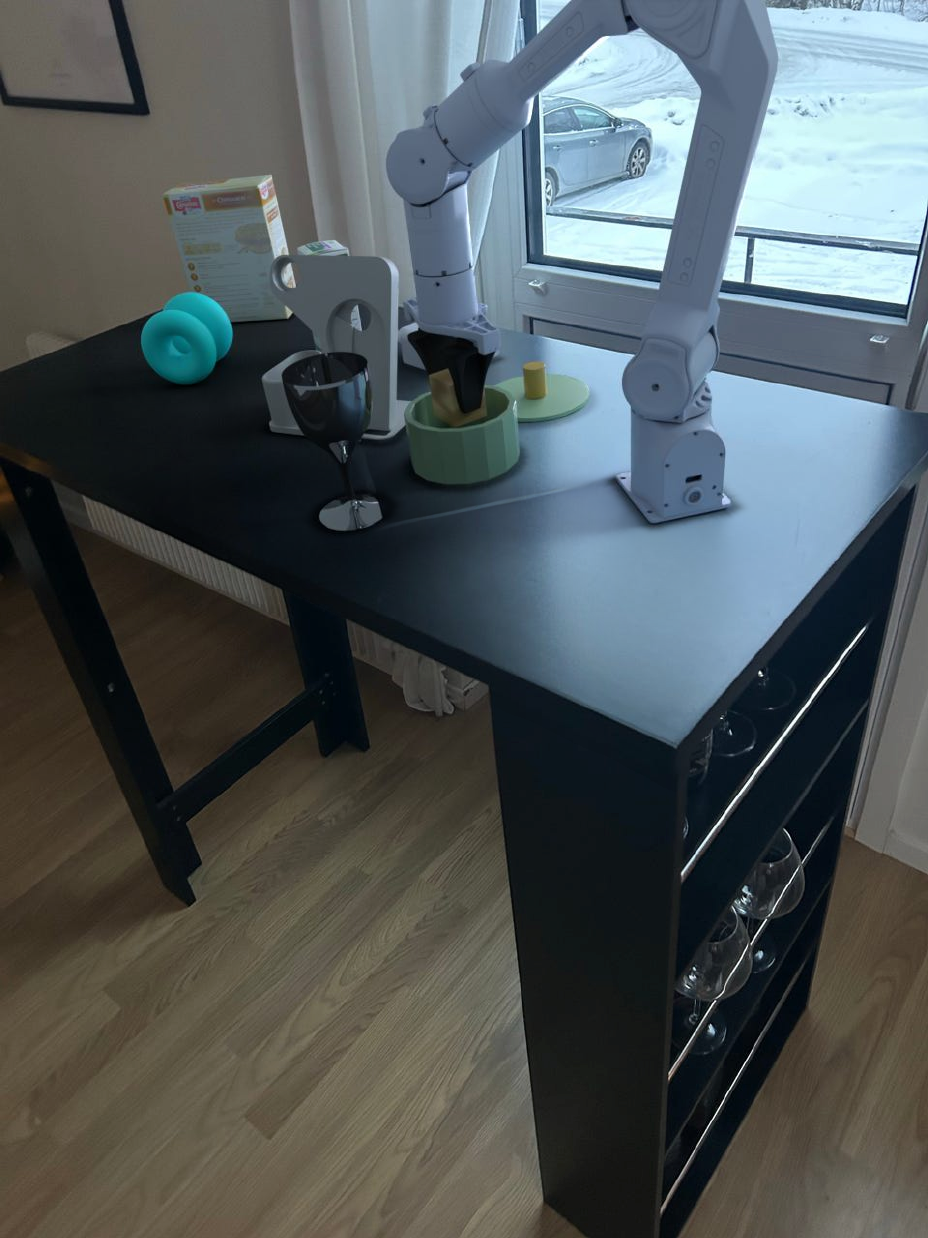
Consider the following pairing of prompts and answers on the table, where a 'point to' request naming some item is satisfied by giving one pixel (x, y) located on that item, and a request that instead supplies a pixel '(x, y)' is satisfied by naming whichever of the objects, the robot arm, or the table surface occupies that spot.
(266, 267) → the coffeecake box
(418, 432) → the tin
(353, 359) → the wine glass
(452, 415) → the block
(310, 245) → the syrup box
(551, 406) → the lid
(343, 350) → the phone holder
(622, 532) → the table surface
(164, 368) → the turquoise yo-yo
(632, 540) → the table surface
